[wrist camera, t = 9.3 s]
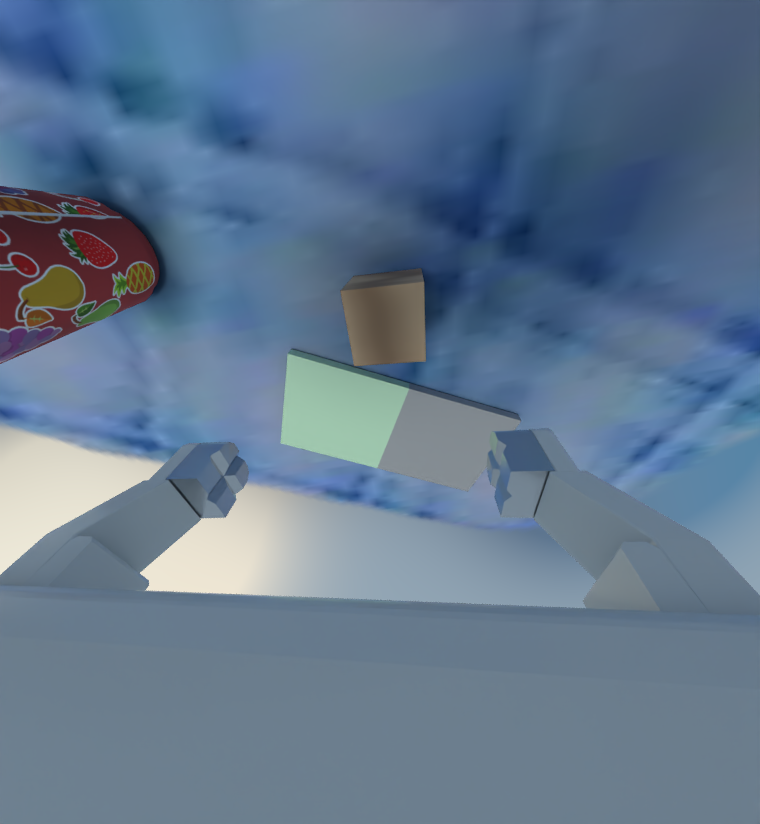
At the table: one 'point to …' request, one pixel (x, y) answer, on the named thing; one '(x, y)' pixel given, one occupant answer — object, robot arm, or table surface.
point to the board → (387, 422)
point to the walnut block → (386, 317)
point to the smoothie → (65, 267)
